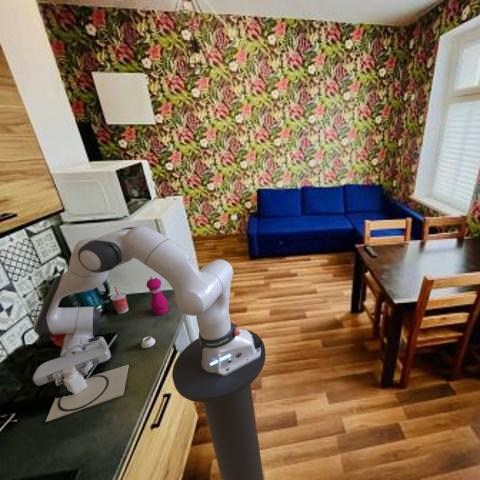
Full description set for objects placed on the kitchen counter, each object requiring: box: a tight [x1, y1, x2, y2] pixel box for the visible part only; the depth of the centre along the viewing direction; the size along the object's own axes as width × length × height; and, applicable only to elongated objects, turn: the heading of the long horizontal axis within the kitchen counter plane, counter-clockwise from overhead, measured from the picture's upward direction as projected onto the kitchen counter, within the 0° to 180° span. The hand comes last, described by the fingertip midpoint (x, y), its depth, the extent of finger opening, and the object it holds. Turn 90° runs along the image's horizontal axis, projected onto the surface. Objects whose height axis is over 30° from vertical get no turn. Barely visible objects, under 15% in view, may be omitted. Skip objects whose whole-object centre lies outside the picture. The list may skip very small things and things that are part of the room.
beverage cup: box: [109, 286, 130, 315], centre depth 130 cm, size 6×6×14 cm
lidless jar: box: [141, 336, 156, 349], centre depth 111 cm, size 5×3×5 cm
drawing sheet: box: [45, 364, 130, 423], centre depth 92 cm, size 20×14×1 cm
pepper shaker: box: [62, 365, 87, 395], centre depth 90 cm, size 4×4×10 cm
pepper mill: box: [146, 275, 169, 316], centre depth 129 cm, size 7×7×20 cm
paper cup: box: [49, 334, 66, 348], centre depth 110 cm, size 8×8×14 cm
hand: (72, 378), depth 88 cm, fingers closed on pepper shaker, 5 cm apart
